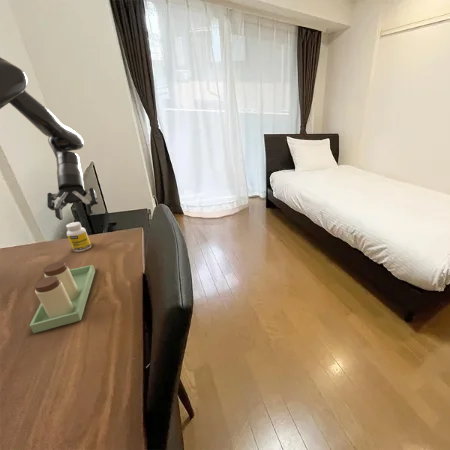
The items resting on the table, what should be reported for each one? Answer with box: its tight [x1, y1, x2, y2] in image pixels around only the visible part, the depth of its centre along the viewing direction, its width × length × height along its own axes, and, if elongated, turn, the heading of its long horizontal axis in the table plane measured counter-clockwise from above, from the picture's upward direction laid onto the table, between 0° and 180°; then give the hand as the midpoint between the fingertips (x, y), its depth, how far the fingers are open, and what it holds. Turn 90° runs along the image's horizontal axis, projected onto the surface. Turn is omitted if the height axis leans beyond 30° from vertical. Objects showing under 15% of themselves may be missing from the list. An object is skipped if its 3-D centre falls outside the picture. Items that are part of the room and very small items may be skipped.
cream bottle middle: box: [42, 261, 80, 300], centre depth 73 cm, size 5×5×10 cm
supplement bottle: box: [65, 221, 92, 253], centre depth 97 cm, size 5×5×10 cm
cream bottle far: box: [33, 276, 74, 319], centre depth 67 cm, size 5×5×10 cm
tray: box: [29, 264, 96, 334], centre depth 75 cm, size 23×9×2 cm, turn 27°
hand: (75, 216), depth 98 cm, fingers open, 8 cm apart
